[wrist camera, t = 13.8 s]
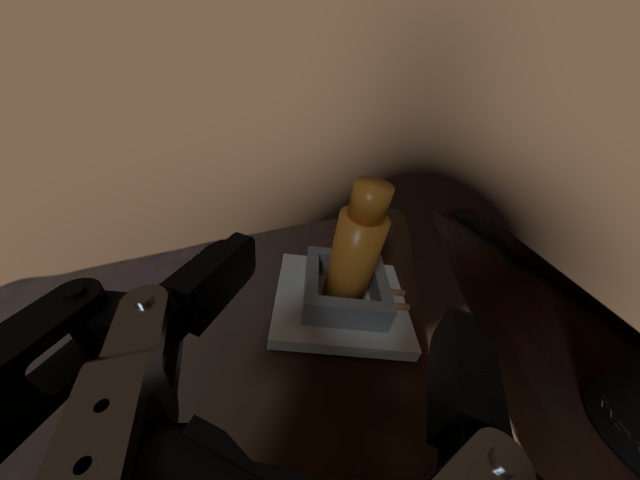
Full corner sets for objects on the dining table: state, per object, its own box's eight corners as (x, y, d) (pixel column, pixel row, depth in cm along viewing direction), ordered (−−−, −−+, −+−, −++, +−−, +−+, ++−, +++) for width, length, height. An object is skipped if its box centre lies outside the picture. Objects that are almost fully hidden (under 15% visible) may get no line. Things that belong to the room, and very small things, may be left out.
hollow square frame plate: (390, 274, 35) (401, 247, 32) (417, 362, 25) (436, 333, 22) (283, 262, 34) (285, 233, 31) (267, 349, 24) (268, 318, 21)
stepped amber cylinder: (359, 283, 30) (395, 177, 23) (365, 314, 27) (409, 201, 19) (321, 279, 30) (345, 170, 22) (322, 310, 26) (349, 193, 19)
